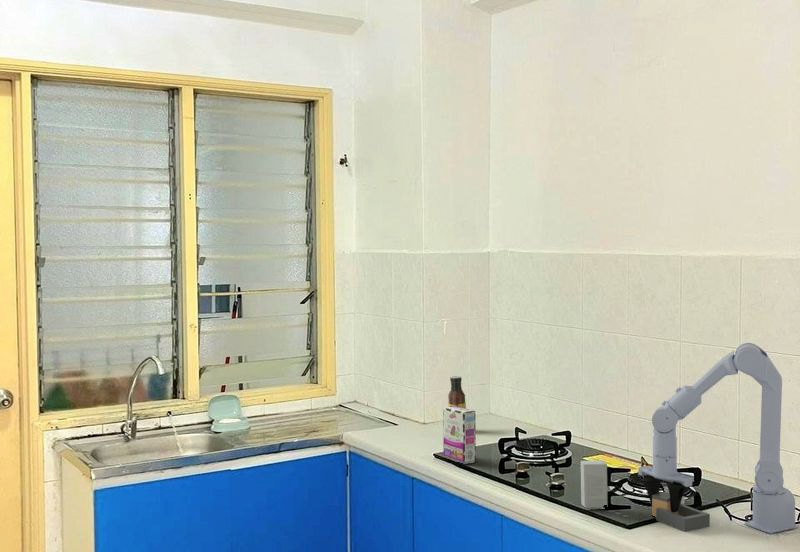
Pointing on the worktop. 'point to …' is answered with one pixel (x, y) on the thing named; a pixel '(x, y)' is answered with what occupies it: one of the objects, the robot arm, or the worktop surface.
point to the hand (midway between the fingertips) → (664, 508)
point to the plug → (661, 502)
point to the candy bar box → (459, 433)
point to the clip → (668, 492)
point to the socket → (684, 518)
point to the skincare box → (593, 483)
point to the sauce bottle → (456, 393)
